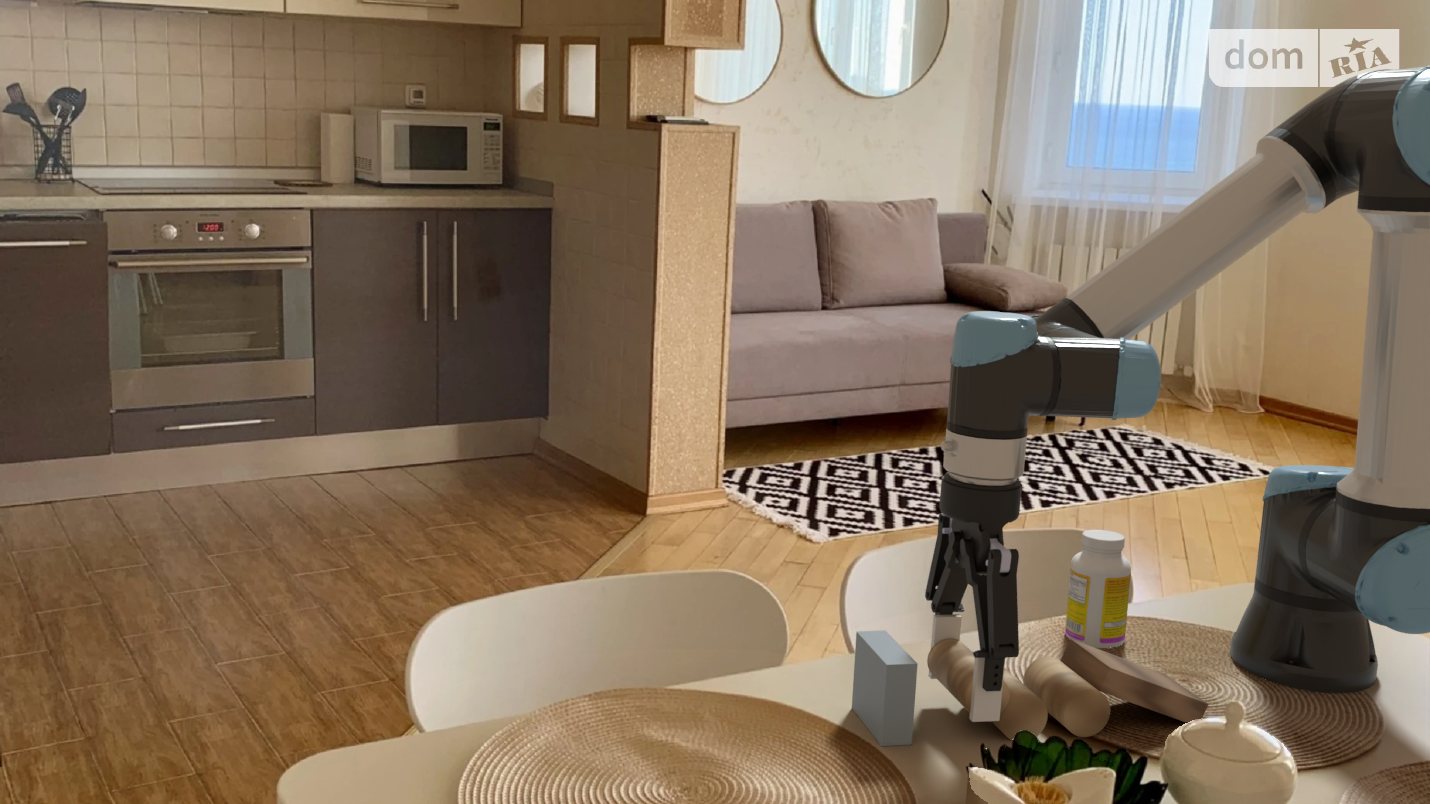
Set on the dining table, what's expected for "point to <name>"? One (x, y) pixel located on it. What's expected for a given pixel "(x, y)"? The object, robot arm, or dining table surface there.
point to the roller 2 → (1021, 710)
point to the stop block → (884, 687)
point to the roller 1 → (957, 671)
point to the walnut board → (1133, 682)
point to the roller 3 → (1067, 696)
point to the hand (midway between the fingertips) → (962, 697)
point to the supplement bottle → (1098, 591)
